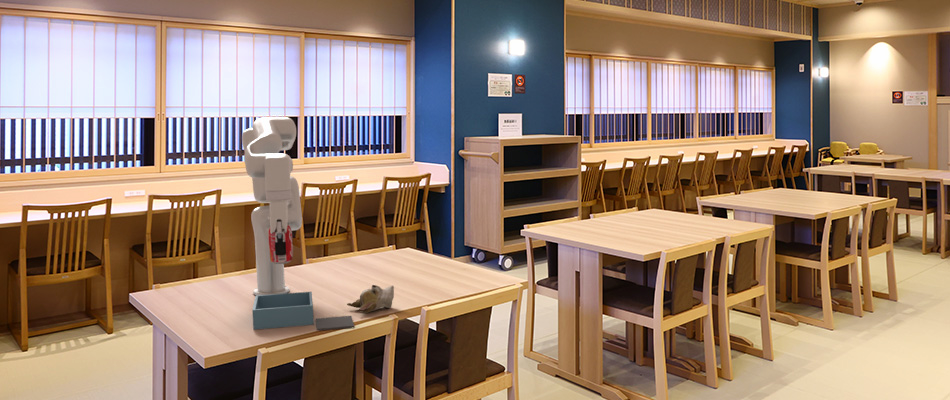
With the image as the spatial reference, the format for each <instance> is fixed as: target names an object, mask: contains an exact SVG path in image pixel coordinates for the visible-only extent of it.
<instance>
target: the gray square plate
mask: <svg viewBox="0 0 950 400" xmlns="http://www.w3.org/2000/svg"><path fill="white" fill-rule="evenodd" d="M315 327H316V328H315V329H316V331H317V330H319V331H330V330H332V331H333V330H341V329H342V330H343V329H353V328H352V327H354V328H355V324H354V320H353V318H352V315H343V316H330V317H317V318H315Z"/></svg>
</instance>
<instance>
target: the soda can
mask: <svg viewBox="0 0 950 400" xmlns="http://www.w3.org/2000/svg"><path fill="white" fill-rule="evenodd" d="M281 225H282V223H281ZM284 231H285V229H284ZM276 232H277V229H276ZM282 232H283V230H282ZM272 233H273V234H271V233H270V229H269V256H270V261H271V262H273V263H274V264H284V265H285V264H289V263H290V262H291V261H293V258H294V257H293V256H294V248H293V247H294V246H293V244H294V243H293V231H292V229H291V228H290V226H289V223H288V225H287V232H286V233H285V242H286V255H275V242H276V241H275V232H272Z"/></svg>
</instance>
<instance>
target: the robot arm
mask: <svg viewBox="0 0 950 400" xmlns="http://www.w3.org/2000/svg"><path fill="white" fill-rule="evenodd" d="M296 137H297V126H296V124H295V121H294V119H292V118H290V117H285V116H283V117H281V116H280V117H279V116H278V117H276V116H275V117H274V116H273V117H272V116H271V117H270V116H269V117H267V116H266V117H265V116H264V117H259V118H257V119H256V120H255V121H254V122H253V124H252V127H250V128H247V129H245V130H244V131H243V132H242V134H241V143H242V147H243V151H244V157H243V159H244V165H245V170H246V173H247V175H248V176H249V177H250V178H251V179H252V191H253V197H254V200H255V201H256V202H258V203H259V204H260V203H261V204H269V205H262V206H258V207H256V208H254V209H253V210H252V212H251V216H250V217H251V218H250V219H251V225H252V229H253V235H254V245H255V263H256V264H255V267H256V283H257V287H256V288H254V289H253V290H252V294H253V295H255V296H257V295H270V294H284V293H290V287H289V286H288V285H286V283H285V281H286V280H285V264H274V263H273V262H271V261H270V256H269V229H270V233H271V234H273V233H272V232H275V241H276V242H275V255H286V242H285V233H286V232H287V225H288V223H289V226H290V228H291V229H292V232H293V231H298V230H300V228H301V227H302V225H303V215H302V214H303V213H302V204H301V196H300V188H299V183H298V181H297V179H296V178H295V177H294V176H292V175H291V173H292V172H293V170H294V164H293V163H294V162H293V159H292V158H291V156H290V155H288V154H287V153H280V151H288V150H291V149H292V147H293V145H294V142H295V140H296ZM281 223H282V225H281ZM276 229H277V232H276ZM284 229H285V231H284ZM282 230H283V232H282Z"/></svg>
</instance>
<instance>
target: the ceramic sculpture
mask: <svg viewBox="0 0 950 400" xmlns="http://www.w3.org/2000/svg"><path fill="white" fill-rule="evenodd" d="M394 289H395V287H394V285H390V286H388V287H385V288H382V287H381V286H379V285H376V284H375V285H374V284H372V285H371V288H368V289H364V290H363V291H362V293H361V294H360V295H359V299H357V300H355V301H353V302H352V303H351V302H349V303H346V305H347V306H349V307H353V308H356V309H357V312H360V313H364V314H365V313H370V312H374V311H377V310H379V309H382V308H385V309H391V308H392V306H393V301H394V295H395V290H394Z"/></svg>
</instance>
